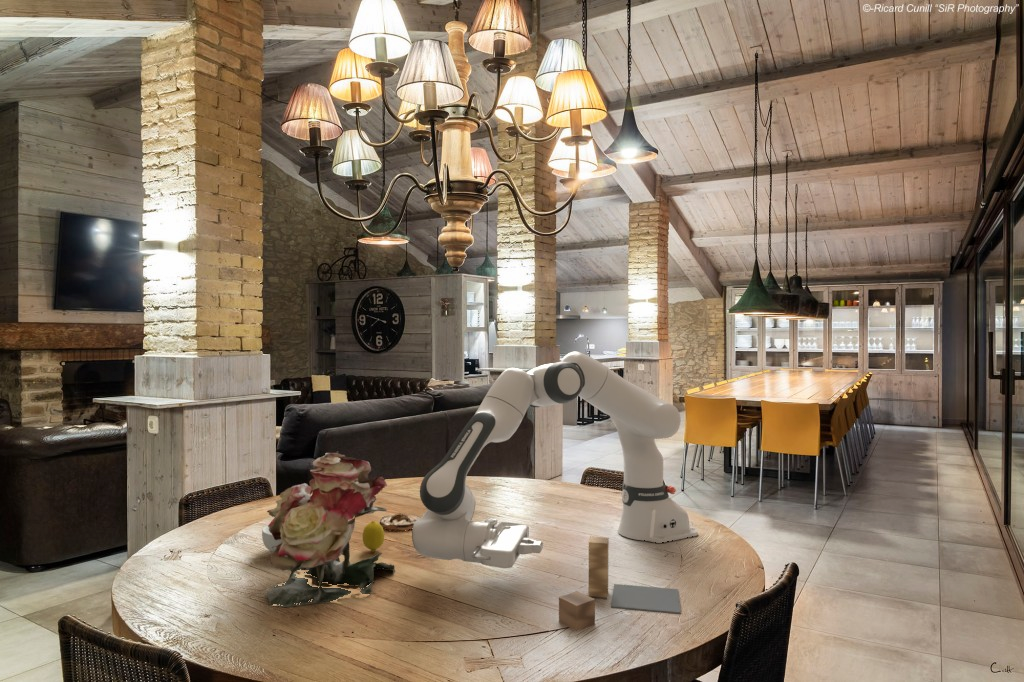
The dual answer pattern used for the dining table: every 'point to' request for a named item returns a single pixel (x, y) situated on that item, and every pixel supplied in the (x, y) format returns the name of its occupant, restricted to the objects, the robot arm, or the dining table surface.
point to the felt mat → (646, 598)
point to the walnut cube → (577, 610)
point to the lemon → (373, 536)
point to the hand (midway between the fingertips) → (541, 547)
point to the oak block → (598, 567)
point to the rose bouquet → (324, 531)
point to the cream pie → (399, 521)
